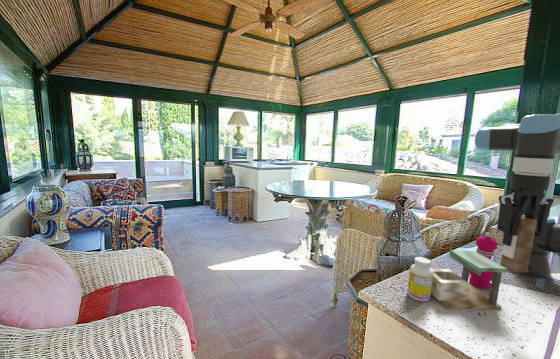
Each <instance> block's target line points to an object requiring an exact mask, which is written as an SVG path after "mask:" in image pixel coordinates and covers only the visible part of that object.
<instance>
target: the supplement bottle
mask: <svg viewBox="0 0 560 359" xmlns="http://www.w3.org/2000/svg"><path fill="white" fill-rule="evenodd" d="M413 262H414V264H411V265H410V268H409V274H408V275H409V276H408V283H407V294H408V296H409V297H410V298H411V299H413V300H415V301H418V302H429V301H430V299H431V296H432V295H431V287H432V279H433V270H432V269H433V268H431V266H432V261H431V259H429V258H425V257H423V256H415V257H414V260H413Z"/></svg>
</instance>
